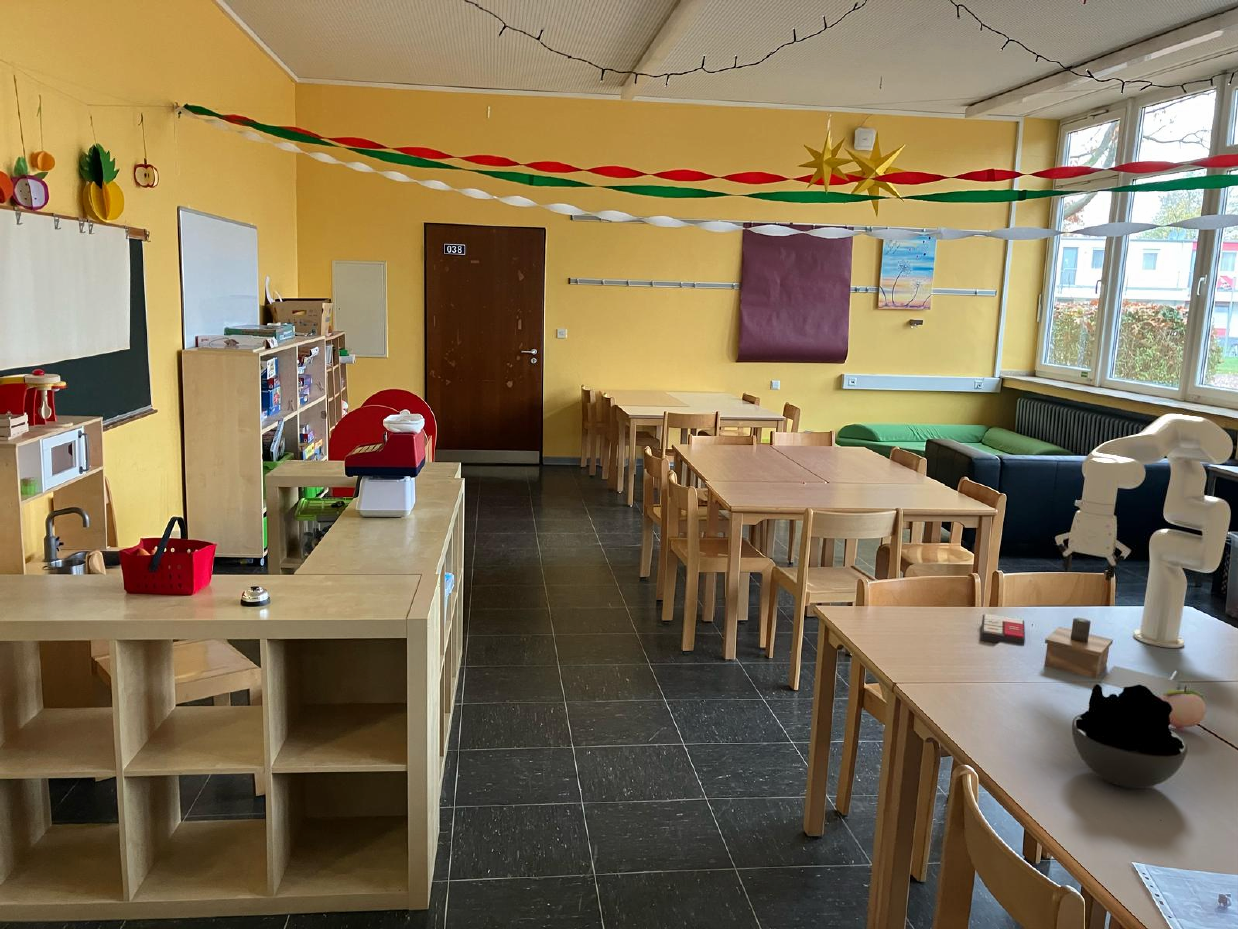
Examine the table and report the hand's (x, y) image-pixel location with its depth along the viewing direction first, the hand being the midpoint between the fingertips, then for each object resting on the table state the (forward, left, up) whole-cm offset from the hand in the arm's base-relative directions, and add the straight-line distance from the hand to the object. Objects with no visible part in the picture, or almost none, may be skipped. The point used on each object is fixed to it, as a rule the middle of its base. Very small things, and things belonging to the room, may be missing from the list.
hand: (1087, 575), depth 249 cm
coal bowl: (+58, +23, -25) cm, 67 cm away
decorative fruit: (+22, +27, -25) cm, 43 cm away
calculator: (-12, -22, -25) cm, 35 cm away
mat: (0, +15, -25) cm, 29 cm away
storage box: (0, 0, -25) cm, 25 cm away
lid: (0, 0, -19) cm, 19 cm away
